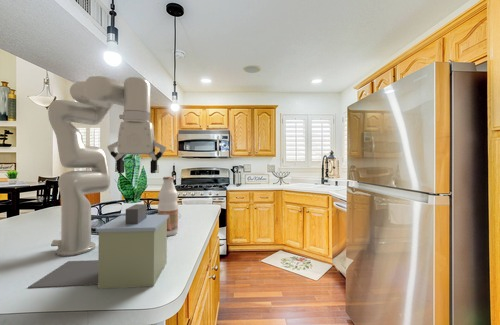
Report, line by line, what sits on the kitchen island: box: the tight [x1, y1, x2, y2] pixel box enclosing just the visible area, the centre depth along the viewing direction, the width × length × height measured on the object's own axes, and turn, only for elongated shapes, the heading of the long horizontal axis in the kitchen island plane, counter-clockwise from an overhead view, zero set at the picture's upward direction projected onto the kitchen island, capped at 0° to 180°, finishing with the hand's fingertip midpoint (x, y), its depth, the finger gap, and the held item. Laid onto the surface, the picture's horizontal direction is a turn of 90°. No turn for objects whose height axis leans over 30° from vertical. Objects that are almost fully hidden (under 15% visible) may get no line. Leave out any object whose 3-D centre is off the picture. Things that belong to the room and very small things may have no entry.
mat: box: [27, 259, 98, 289], centre depth 75 cm, size 18×17×1 cm
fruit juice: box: [157, 176, 179, 237], centre depth 116 cm, size 9×9×28 cm
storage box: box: [97, 220, 168, 289], centre depth 74 cm, size 15×15×16 cm
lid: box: [95, 203, 169, 233], centre depth 74 cm, size 16×16×6 cm
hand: (137, 173), depth 74 cm, fingers open, 9 cm apart
